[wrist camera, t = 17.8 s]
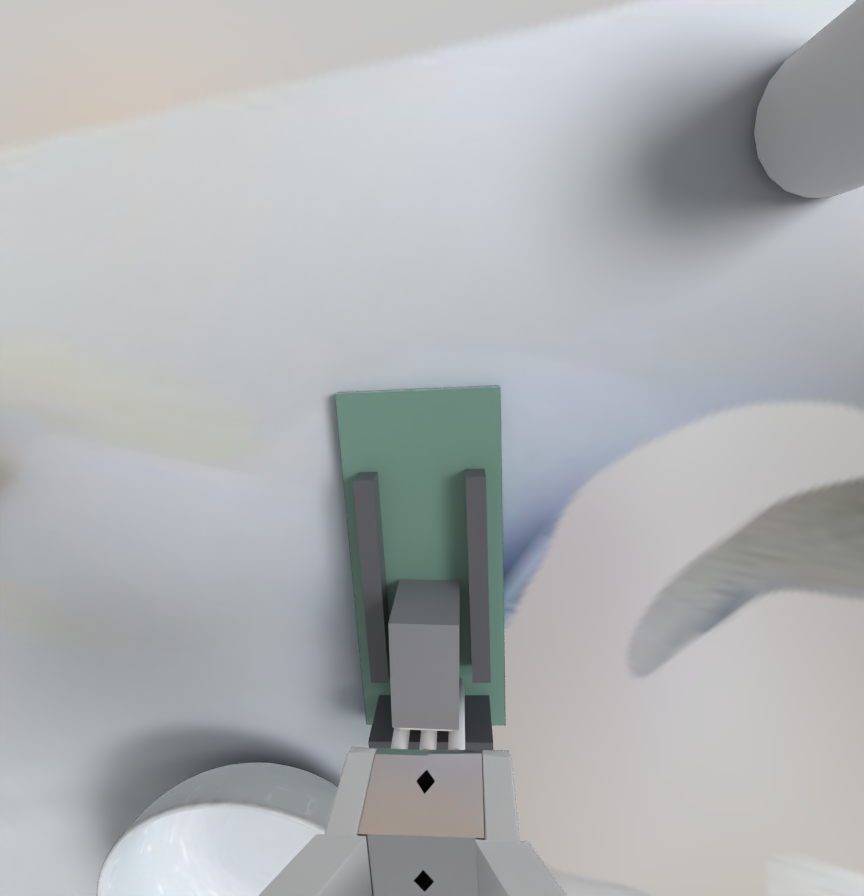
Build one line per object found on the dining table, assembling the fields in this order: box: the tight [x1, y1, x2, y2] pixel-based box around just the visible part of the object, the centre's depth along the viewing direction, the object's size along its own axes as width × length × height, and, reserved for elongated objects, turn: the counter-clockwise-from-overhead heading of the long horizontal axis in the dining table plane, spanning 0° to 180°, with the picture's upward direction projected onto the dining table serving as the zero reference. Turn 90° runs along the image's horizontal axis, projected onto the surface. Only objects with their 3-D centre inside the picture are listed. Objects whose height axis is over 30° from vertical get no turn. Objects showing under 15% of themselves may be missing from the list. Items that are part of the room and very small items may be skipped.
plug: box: [388, 579, 460, 731], centre depth 30 cm, size 4×7×5 cm, turn 1°
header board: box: [335, 385, 506, 766], centre depth 29 cm, size 10×24×8 cm, turn 3°
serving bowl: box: [96, 762, 338, 896], centre depth 36 cm, size 21×21×7 cm
